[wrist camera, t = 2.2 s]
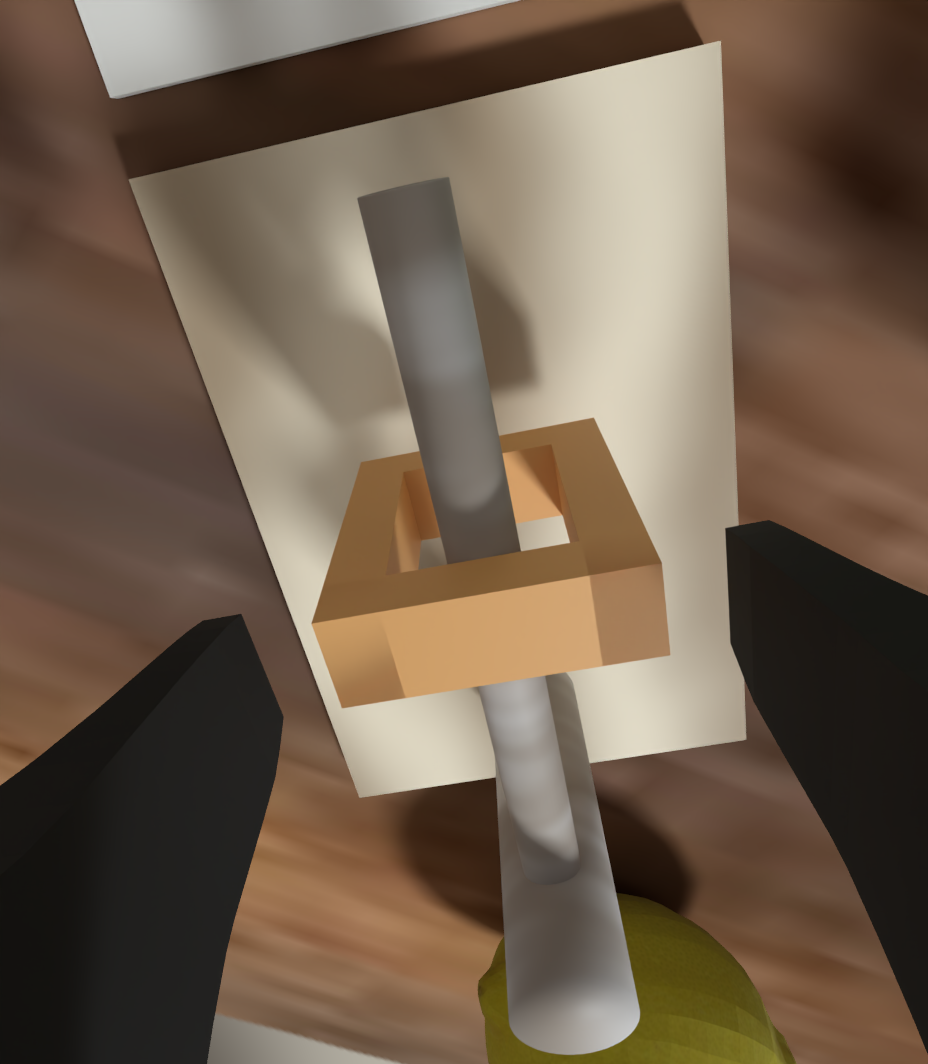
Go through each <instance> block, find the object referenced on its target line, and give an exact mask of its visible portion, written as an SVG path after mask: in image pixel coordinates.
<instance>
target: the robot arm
mask: <svg viewBox="0 0 928 1064" xmlns="http://www.w3.org/2000/svg"><path fill="white" fill-rule="evenodd" d="M725 535H726V557H727V579H728V601H729V623H730V644H731V646H732V649H733V651H734V654H735V656H736V659H737V662H738V664H739V667H740V669H741V672H742V674H743V677H744V679H745V682H746V684H747V686H748V689H749V691H750V693H751V696H752V698H753V701H754V703H755V705H756V706H757V708H758V710H759V712H760V714H761V715H762V717H763V719H764V721H765V722H766V724H767V726H768V728H769V730H770V731H771V733H772V735H773V737H774V738H775V740H776V742H777V744H778V745H779V747H780V749H781V751H782V752H783V754H784V756H785V758H786V759H787V761H788V763H789V764H790V766H791V768H792V770H793V771H794V773H795V775H796V777H797V778H798V780H799V782H800V783H801V785H802V787H803V789H804V790H805V792H806V794H807V796H808V797H809V799H810V801H811V803H812V804H813V806H814V808H815V809H816V811H817V813H818V815H819V816H820V818H821V820H822V822H823V823H824V825H825V827H826V829H827V830H828V832H829V834H830V836H831V837H832V839H833V841H834V843H835V845H836V847H837V849H838V851H839V853H840V855H841V857H842V859H843V861H844V862H845V864H846V866H847V868H848V871H849V873H850V875H851V877H852V879H853V882H854V884H855V886H856V888H857V891H858V893H859V895H860V897H861V900H862V902H863V904H864V906H865V908H866V911H867V913H868V915H869V917H870V920H871V922H872V924H873V926H874V929H875V931H876V933H877V935H878V937H879V940H880V942H881V944H882V947H883V949H884V951H885V954H886V956H887V958H888V961H889V963H890V965H891V968H892V970H893V972H894V975H895V977H896V979H897V982H898V984H899V986H900V989H901V991H902V993H903V996H904V998H905V1000H906V1003H907V1005H908V1007H909V1010H910V1012H911V1014H912V1017H913V1019H914V1021H915V1024H916V1026H917V1029H918V1031H919V1034H920V1036H921V1039H922V1041H923V1044H924V1046H925V1049H926V1051H927V1053H928V596H927V595H925V594H923V593H920V592H918V591H916V590H913V589H911V588H909V587H907V586H904V585H902V584H900V583H898V582H896V581H893V580H891V579H889V578H887V577H885V576H883V575H881V574H878V573H876V572H874V571H872V570H870V569H868V568H866V567H864V566H862V565H860V564H858V563H856V562H854V561H852V560H850V559H848V558H846V557H844V556H842V555H840V554H838V553H836V552H834V551H832V550H830V549H828V548H826V547H824V546H822V545H820V544H818V543H816V542H814V541H812V540H810V539H808V538H806V537H804V536H802V535H800V534H798V533H796V532H794V531H792V530H790V529H788V528H786V527H784V526H781V525H779V524H777V523H774V522H772V521H770V520H767V521H762V522H756V523H750V524H745V525H739V526H734V527H728V528H725ZM282 726H283V714H282V712H281V710H280V707H279V705H278V702H277V700H276V697H275V695H274V693H273V690H272V688H271V685H270V683H269V680H268V678H267V676H266V673H265V671H264V668H263V666H262V663H261V661H260V659H259V656H258V654H257V651H256V649H255V646H254V644H253V642H252V639H251V637H250V634H249V632H248V629H247V627H246V625H245V622H244V620H243V617H242V615H241V614H238V615H233V616H227V617H221V618H216V619H210V620H204V621H202V622H200V623H199V624H198V625H196V626H195V627H193V628H192V629H191V630H189V631H188V632H187V633H185V634H184V635H183V636H182V637H180V638H179V639H178V640H177V641H176V642H174V643H173V644H172V645H171V646H170V647H168V648H167V649H166V650H165V651H164V652H163V653H162V654H160V655H159V656H158V657H157V658H156V659H155V660H153V661H152V662H151V663H150V664H149V665H148V666H147V667H145V668H144V669H143V670H142V671H141V672H140V673H139V674H137V675H136V676H135V677H134V678H133V679H132V680H131V681H129V682H128V683H127V684H126V685H125V686H124V687H122V688H121V689H120V690H119V691H118V692H117V693H116V694H114V695H113V696H112V697H111V698H110V699H109V700H108V701H106V702H105V703H104V704H103V705H102V706H101V707H99V708H98V709H97V710H96V711H95V712H93V713H92V714H91V715H90V716H88V717H87V718H86V719H85V720H84V721H82V722H81V723H80V724H79V725H77V726H76V727H75V728H74V729H72V730H71V731H70V732H69V733H68V734H66V735H65V736H64V737H63V738H61V739H60V740H59V741H58V742H57V743H55V744H54V745H53V746H52V747H50V748H49V749H48V750H47V751H45V752H44V753H43V754H42V755H41V756H39V757H38V758H37V759H35V760H34V761H33V762H31V763H30V764H29V765H28V766H26V767H25V768H24V769H22V770H21V771H20V772H18V773H17V774H15V775H14V776H13V777H11V778H10V779H9V780H7V781H6V782H5V783H3V784H2V785H0V1064H207V1059H208V1053H209V1047H210V1040H211V1034H212V1028H213V1021H214V1016H215V1011H216V1006H217V1000H218V995H219V989H220V984H221V978H222V973H223V967H224V962H225V957H226V951H227V947H228V943H229V939H230V935H231V931H232V927H233V923H234V919H235V915H236V912H237V909H238V905H239V902H240V898H241V895H242V892H243V888H244V885H245V881H246V878H247V874H248V871H249V868H250V864H251V861H252V857H253V854H254V851H255V847H256V844H257V840H258V837H259V834H260V830H261V827H262V823H263V820H264V816H265V813H266V809H267V806H268V802H269V798H270V795H271V791H272V788H273V784H274V780H275V776H276V769H277V763H278V757H279V750H280V742H281V734H282Z"/></svg>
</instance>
